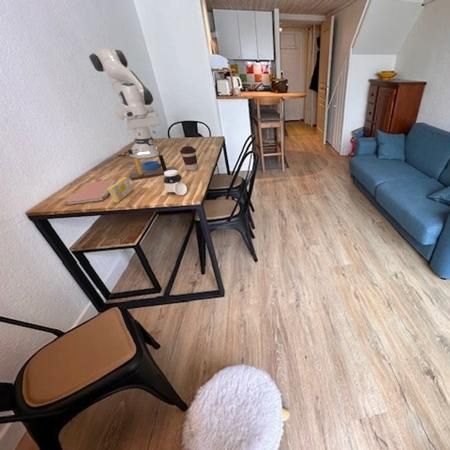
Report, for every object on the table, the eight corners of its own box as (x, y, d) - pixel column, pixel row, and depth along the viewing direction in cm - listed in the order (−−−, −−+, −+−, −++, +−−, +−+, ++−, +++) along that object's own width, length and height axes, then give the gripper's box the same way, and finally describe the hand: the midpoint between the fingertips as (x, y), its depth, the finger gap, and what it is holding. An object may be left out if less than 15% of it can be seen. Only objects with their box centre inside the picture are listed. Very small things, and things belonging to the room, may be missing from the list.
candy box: (129, 190, 142) (124, 176, 137) (133, 190, 142) (128, 176, 138) (113, 203, 128) (107, 188, 124) (118, 202, 128) (111, 188, 124)
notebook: (105, 200, 131) (103, 196, 130) (67, 205, 126) (65, 201, 125) (118, 182, 153) (117, 179, 152) (86, 185, 148) (85, 182, 147)
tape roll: (143, 171, 170) (142, 166, 168) (142, 166, 178) (140, 162, 176) (160, 168, 175) (159, 163, 173) (159, 164, 183) (157, 160, 181)
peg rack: (131, 180, 155) (125, 162, 149) (131, 175, 163) (124, 158, 157) (176, 172, 167) (171, 155, 161) (173, 168, 174) (169, 152, 168)
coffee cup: (202, 167, 176) (198, 146, 168) (193, 172, 168) (188, 149, 160) (191, 166, 179) (186, 145, 171) (181, 170, 171) (175, 148, 163)
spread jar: (174, 187, 145) (169, 168, 138) (193, 188, 144) (188, 169, 137) (163, 196, 134) (156, 176, 128) (182, 197, 133) (177, 176, 127)
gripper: (154, 109, 167) (161, 131, 174) (119, 113, 156) (129, 136, 163) (157, 109, 163) (164, 131, 170) (121, 114, 151) (131, 137, 159)
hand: (147, 134), depth 166 cm, fingers open, 8 cm apart
